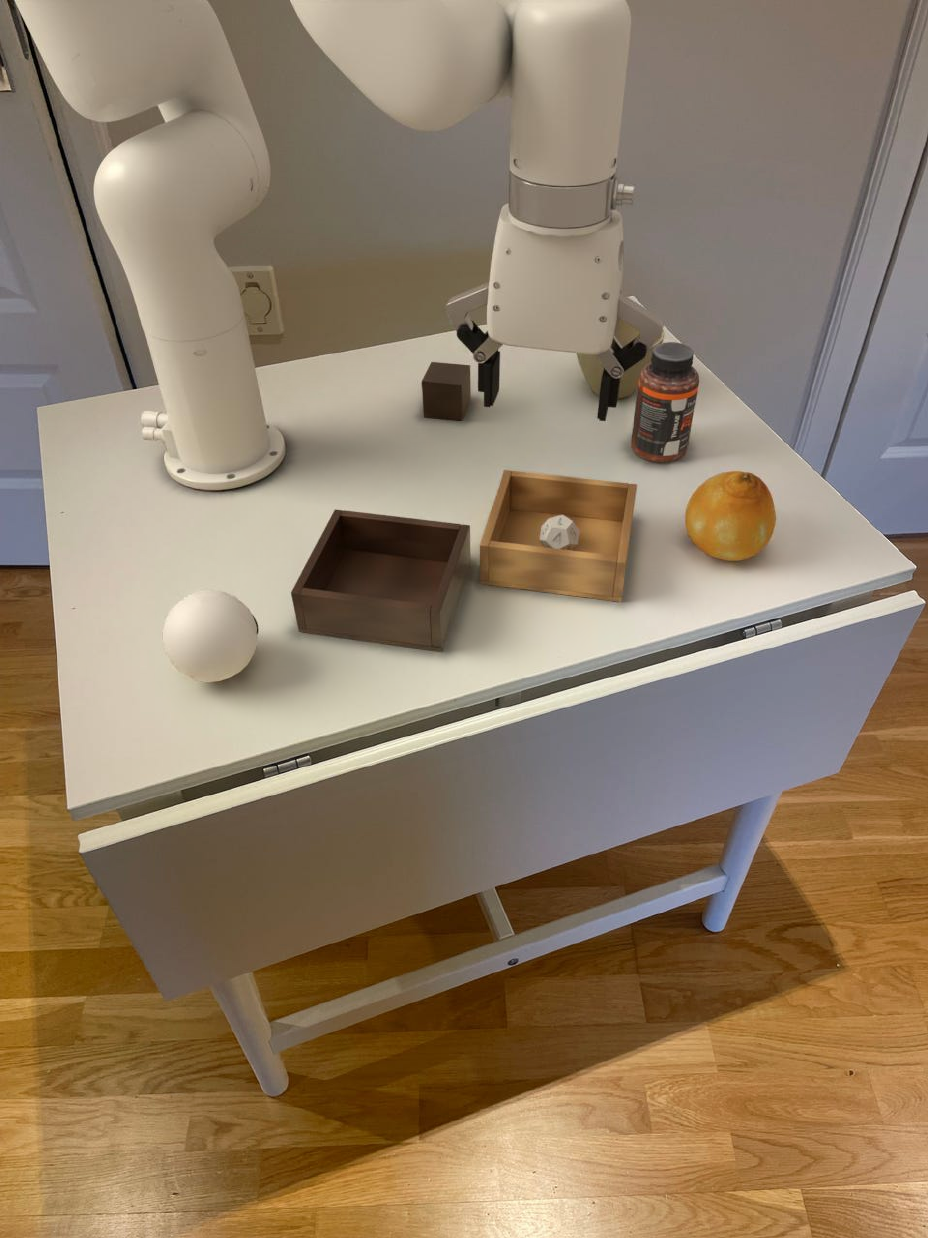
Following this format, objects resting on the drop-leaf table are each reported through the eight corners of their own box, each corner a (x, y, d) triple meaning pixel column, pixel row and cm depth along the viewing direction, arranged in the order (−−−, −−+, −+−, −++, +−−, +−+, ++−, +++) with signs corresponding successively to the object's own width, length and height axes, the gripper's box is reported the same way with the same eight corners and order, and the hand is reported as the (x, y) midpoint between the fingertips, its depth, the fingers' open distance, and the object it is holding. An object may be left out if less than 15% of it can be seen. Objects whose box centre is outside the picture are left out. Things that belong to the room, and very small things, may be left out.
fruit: (797, 557, 80) (789, 466, 78) (708, 574, 79) (697, 483, 77) (760, 544, 88) (751, 461, 86) (678, 560, 87) (668, 477, 85)
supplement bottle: (686, 467, 94) (704, 367, 86) (628, 462, 95) (640, 362, 87) (687, 436, 98) (704, 338, 90) (632, 431, 99) (644, 334, 91)
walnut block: (423, 417, 102) (421, 381, 99) (433, 396, 105) (431, 361, 102) (462, 421, 101) (461, 384, 98) (470, 400, 105) (470, 364, 102)
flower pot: (662, 409, 102) (670, 350, 97) (573, 410, 103) (577, 352, 98) (650, 366, 110) (657, 309, 105) (567, 367, 110) (570, 310, 105)
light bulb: (278, 680, 74) (262, 614, 68) (188, 713, 71) (165, 648, 66) (241, 606, 80) (224, 541, 75) (157, 635, 78) (134, 569, 73)
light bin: (480, 584, 82) (479, 544, 78) (503, 507, 90) (504, 469, 87) (621, 602, 79) (626, 562, 76) (632, 522, 88) (637, 483, 84)
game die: (580, 537, 85) (582, 512, 83) (574, 562, 83) (577, 537, 81) (543, 533, 86) (544, 507, 84) (536, 557, 83) (537, 532, 81)
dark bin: (298, 631, 78) (290, 592, 74) (340, 547, 86) (334, 508, 83) (441, 652, 75) (439, 612, 72) (470, 563, 84) (470, 524, 80)
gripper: (685, 187, 67) (652, 395, 78) (456, 170, 69) (458, 373, 81) (679, 225, 61) (645, 442, 73) (431, 205, 64) (437, 416, 76)
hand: (546, 405), depth 77 cm, fingers open, 9 cm apart
